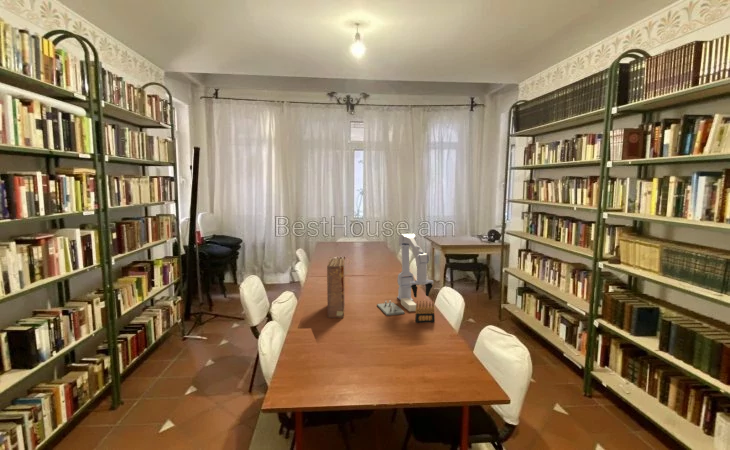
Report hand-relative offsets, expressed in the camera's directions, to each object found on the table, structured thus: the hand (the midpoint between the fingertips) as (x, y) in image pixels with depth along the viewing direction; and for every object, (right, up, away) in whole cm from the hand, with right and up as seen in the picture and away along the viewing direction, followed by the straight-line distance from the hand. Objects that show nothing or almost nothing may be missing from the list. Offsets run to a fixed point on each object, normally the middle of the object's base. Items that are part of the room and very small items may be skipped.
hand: (421, 296), depth 224 cm
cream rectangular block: (-6, -9, +10) cm, 15 cm away
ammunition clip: (0, -12, -14) cm, 18 cm away
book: (-50, -10, +5) cm, 51 cm away
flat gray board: (-18, -9, +6) cm, 21 cm away
